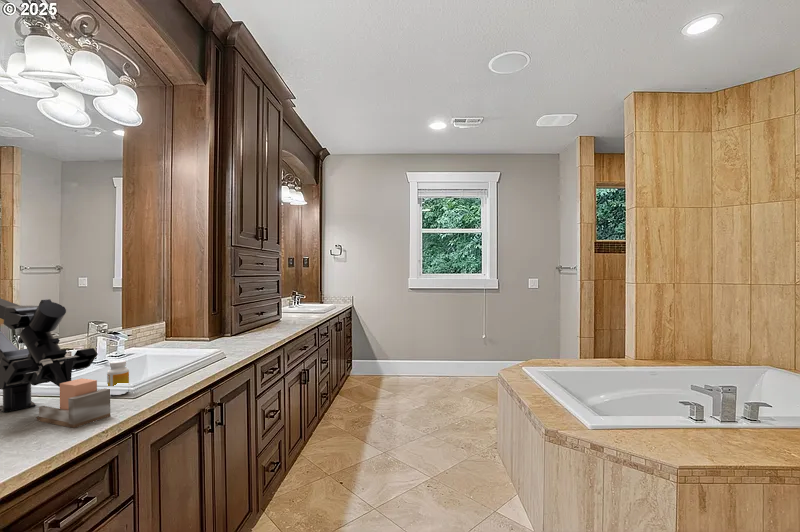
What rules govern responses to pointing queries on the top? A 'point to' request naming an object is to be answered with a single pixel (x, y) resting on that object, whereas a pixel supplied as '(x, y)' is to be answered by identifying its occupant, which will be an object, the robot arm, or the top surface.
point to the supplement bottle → (117, 373)
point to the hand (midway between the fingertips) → (68, 389)
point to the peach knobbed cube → (75, 390)
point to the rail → (79, 410)
